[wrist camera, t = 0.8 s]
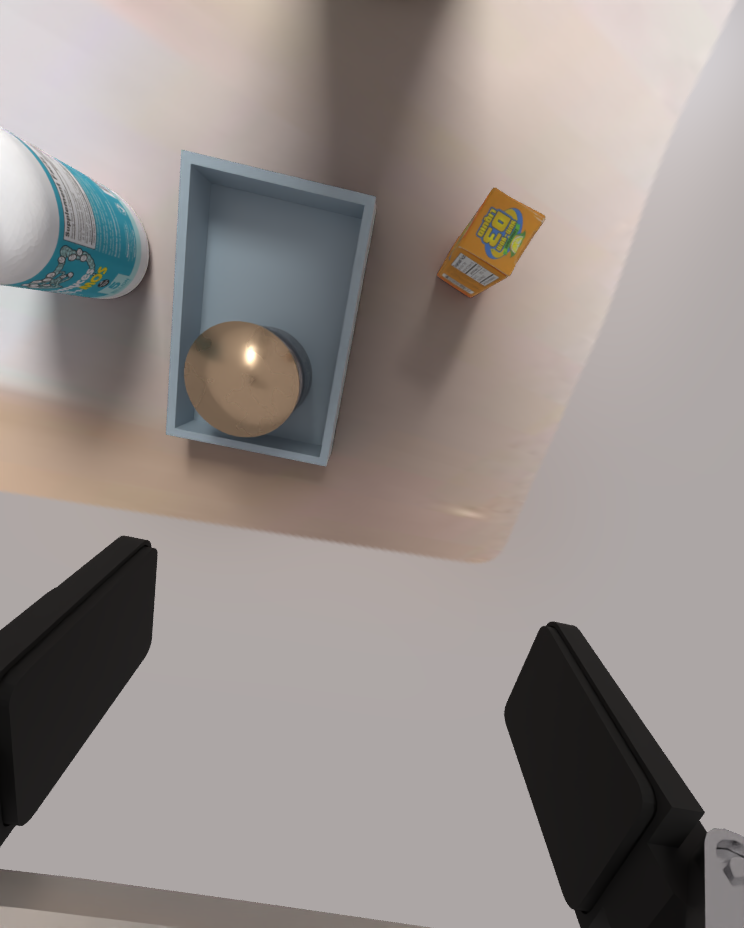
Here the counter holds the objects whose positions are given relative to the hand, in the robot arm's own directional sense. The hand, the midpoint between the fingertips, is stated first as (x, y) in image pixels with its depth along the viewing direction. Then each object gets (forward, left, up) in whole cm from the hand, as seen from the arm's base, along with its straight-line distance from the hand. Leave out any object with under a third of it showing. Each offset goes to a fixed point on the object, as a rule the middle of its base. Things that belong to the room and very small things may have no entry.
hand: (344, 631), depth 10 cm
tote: (-6, -8, -24) cm, 26 cm away
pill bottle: (-9, -21, -25) cm, 34 cm away
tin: (-2, -8, -24) cm, 25 cm away
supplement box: (-13, +5, -25) cm, 28 cm away
